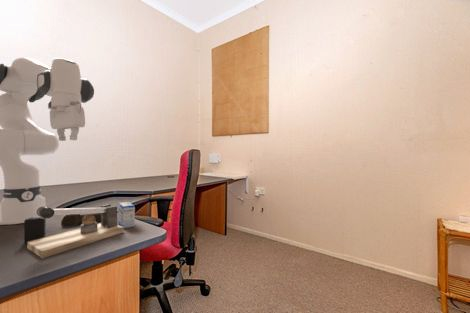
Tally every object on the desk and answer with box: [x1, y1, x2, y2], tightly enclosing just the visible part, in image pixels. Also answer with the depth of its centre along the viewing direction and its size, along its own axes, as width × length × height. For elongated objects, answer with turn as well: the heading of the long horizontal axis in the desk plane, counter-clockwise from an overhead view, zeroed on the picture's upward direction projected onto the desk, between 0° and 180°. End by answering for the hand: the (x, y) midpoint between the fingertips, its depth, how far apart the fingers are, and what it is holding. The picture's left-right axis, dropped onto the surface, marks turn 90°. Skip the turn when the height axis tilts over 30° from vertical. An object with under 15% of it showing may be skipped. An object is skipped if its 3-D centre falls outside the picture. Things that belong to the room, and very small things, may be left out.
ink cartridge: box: [23, 217, 47, 245], centre depth 75 cm, size 5×2×8 cm, turn 120°
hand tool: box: [60, 213, 101, 227], centre depth 96 cm, size 19×4×5 cm, turn 122°
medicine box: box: [117, 201, 136, 229], centre depth 92 cm, size 8×4×9 cm, turn 40°
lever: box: [37, 206, 107, 219], centre depth 77 cm, size 4×22×3 cm, turn 147°
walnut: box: [81, 213, 97, 225], centre depth 79 cm, size 4×4×4 cm
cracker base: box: [26, 203, 124, 259], centre depth 77 cm, size 12×24×10 cm, turn 147°
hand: (67, 140), depth 84 cm, fingers open, 8 cm apart
